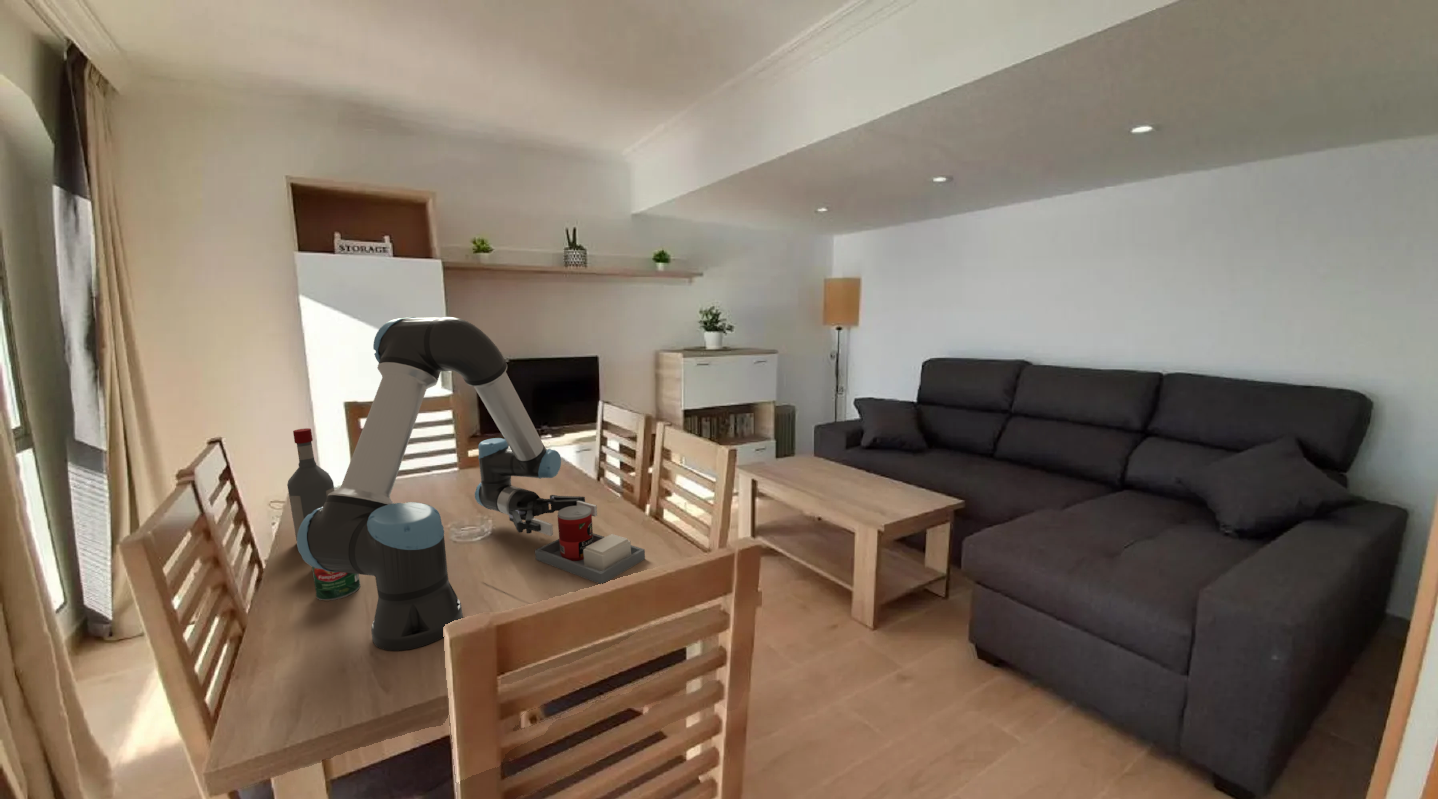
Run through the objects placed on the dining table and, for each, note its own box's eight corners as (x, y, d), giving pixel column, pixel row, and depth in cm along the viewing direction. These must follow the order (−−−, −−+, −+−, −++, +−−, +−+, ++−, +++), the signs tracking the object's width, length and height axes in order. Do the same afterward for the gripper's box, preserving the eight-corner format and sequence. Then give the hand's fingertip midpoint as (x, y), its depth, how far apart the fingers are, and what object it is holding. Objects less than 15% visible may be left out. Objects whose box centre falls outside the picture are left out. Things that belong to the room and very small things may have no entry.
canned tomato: (324, 605, 113) (316, 555, 111) (310, 593, 117) (302, 545, 115) (366, 588, 119) (360, 541, 117) (352, 578, 124) (345, 532, 122)
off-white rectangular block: (631, 560, 128) (630, 538, 127) (603, 577, 121) (602, 553, 120) (612, 554, 132) (611, 532, 131) (584, 570, 124) (583, 547, 123)
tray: (645, 561, 129) (644, 549, 129) (601, 586, 118) (600, 574, 117) (580, 540, 141) (580, 529, 141) (536, 561, 130) (535, 549, 129)
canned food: (585, 562, 128) (582, 518, 126) (554, 560, 129) (551, 516, 127) (599, 548, 135) (596, 506, 133) (569, 546, 137) (566, 504, 135)
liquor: (299, 552, 137) (280, 436, 132) (296, 540, 144) (278, 430, 139) (342, 541, 143) (326, 429, 138) (337, 531, 150) (321, 424, 145)
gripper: (559, 502, 154) (612, 517, 142) (477, 533, 134) (532, 554, 122) (557, 476, 152) (611, 490, 141) (474, 504, 132) (529, 523, 120)
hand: (574, 520), depth 131 cm, fingers open, 13 cm apart
